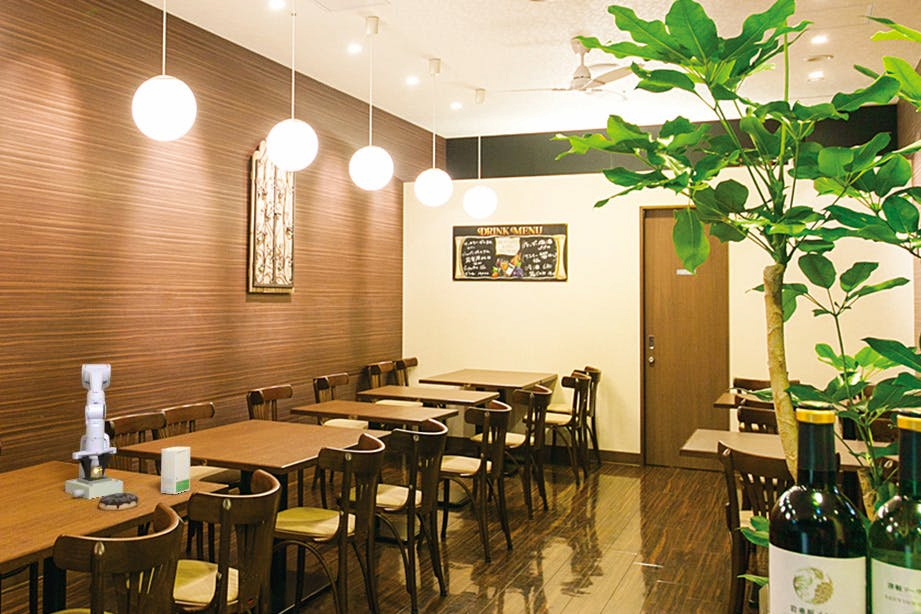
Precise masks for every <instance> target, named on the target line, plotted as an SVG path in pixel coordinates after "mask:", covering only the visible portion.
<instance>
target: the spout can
mask: <svg viewBox="0 0 921 614" xmlns="http://www.w3.org/2000/svg"><path fill="white" fill-rule="evenodd" d="M102 470H103V469H102V465H92V466H91V472H90V478H88V481H94V480H100V479H102Z"/></svg>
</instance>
